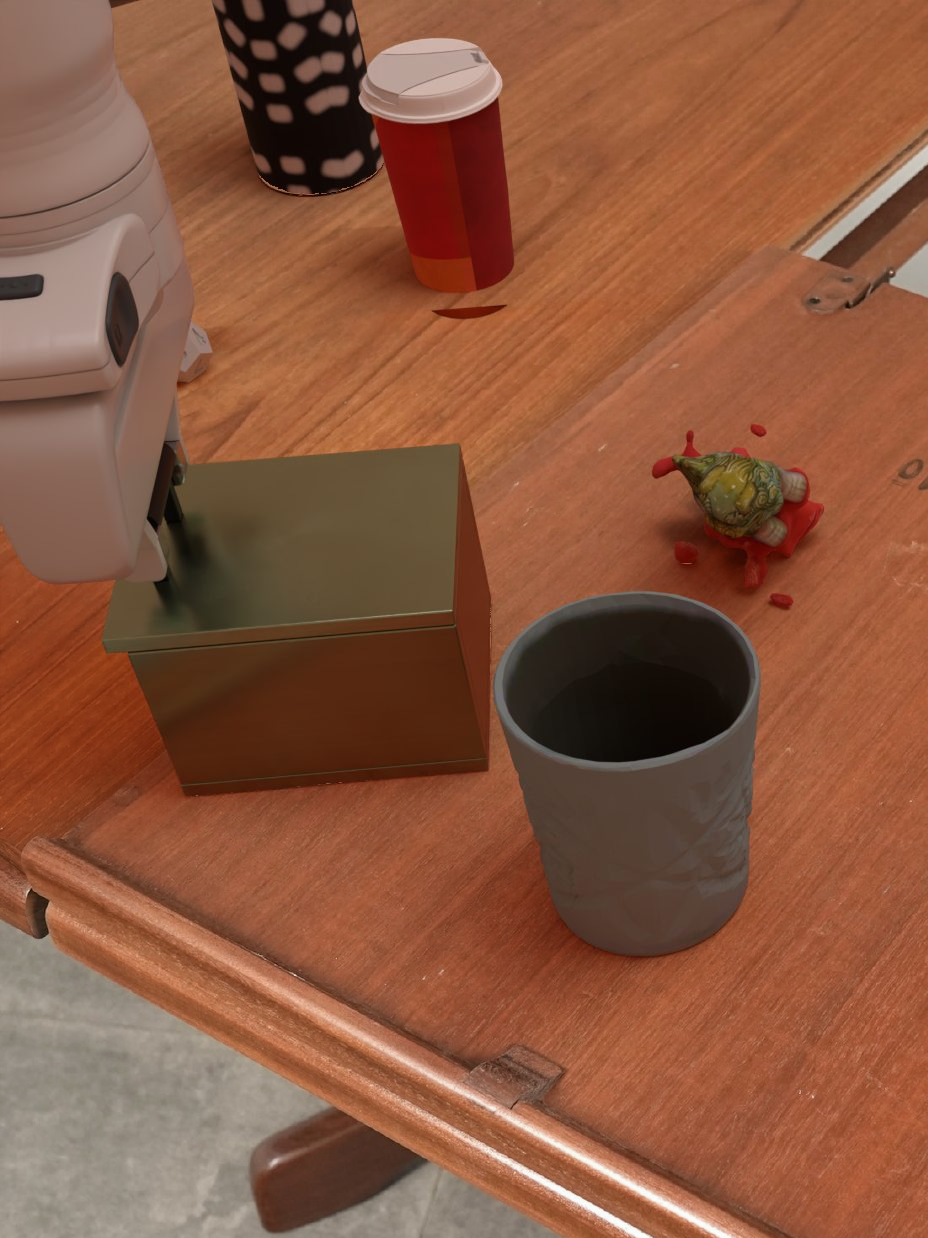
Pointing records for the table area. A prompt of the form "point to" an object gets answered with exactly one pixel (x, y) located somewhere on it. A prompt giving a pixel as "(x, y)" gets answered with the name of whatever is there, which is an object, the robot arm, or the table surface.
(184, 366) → the game die
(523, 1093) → the table surface
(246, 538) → the lid
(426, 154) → the paper cup
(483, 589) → the bin
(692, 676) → the grey cup
